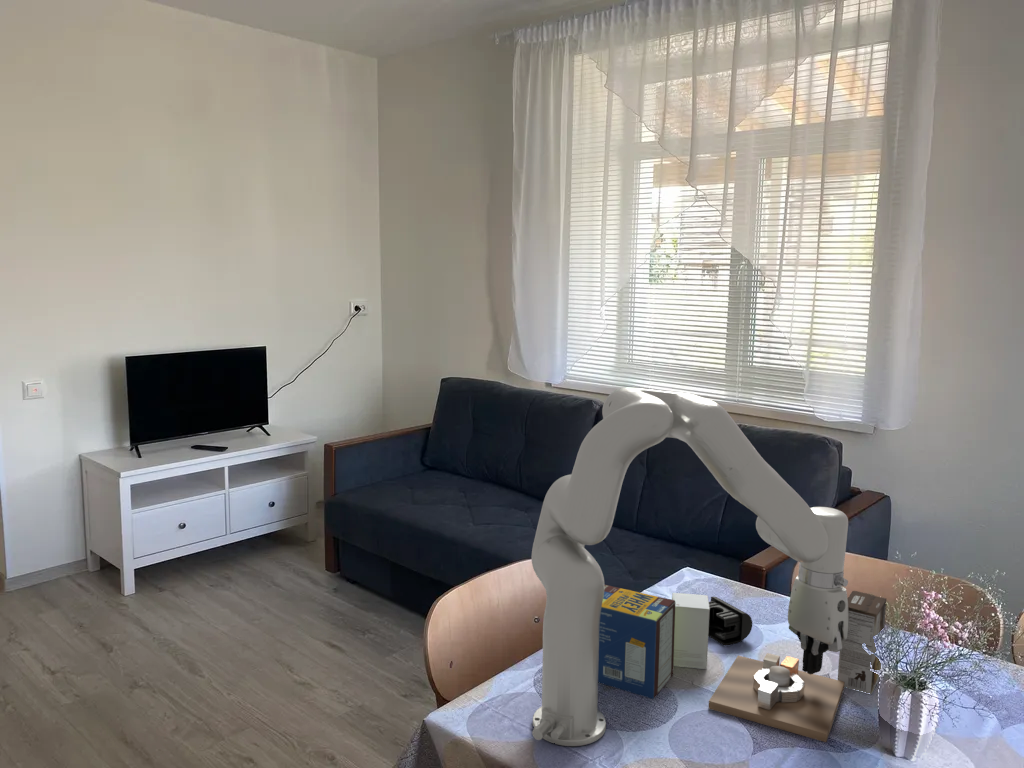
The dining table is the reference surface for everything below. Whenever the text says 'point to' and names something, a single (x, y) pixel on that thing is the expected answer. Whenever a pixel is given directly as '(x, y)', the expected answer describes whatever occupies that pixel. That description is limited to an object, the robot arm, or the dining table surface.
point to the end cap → (727, 623)
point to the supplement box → (691, 630)
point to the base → (797, 717)
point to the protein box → (636, 641)
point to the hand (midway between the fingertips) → (811, 670)
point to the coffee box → (861, 641)
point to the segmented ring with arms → (773, 693)
